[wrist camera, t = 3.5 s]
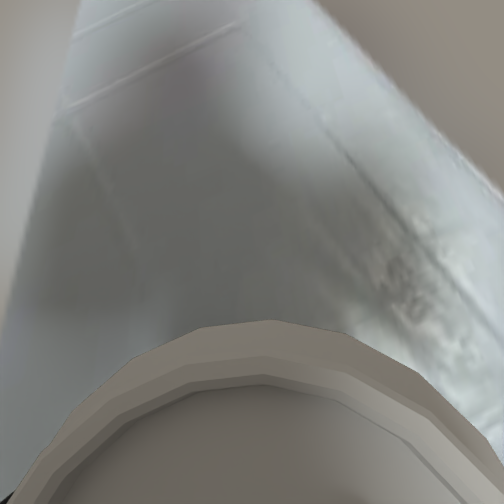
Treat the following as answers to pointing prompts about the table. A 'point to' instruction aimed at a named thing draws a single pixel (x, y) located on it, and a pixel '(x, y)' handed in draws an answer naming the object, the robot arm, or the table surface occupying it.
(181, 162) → the table surface
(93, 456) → the can
